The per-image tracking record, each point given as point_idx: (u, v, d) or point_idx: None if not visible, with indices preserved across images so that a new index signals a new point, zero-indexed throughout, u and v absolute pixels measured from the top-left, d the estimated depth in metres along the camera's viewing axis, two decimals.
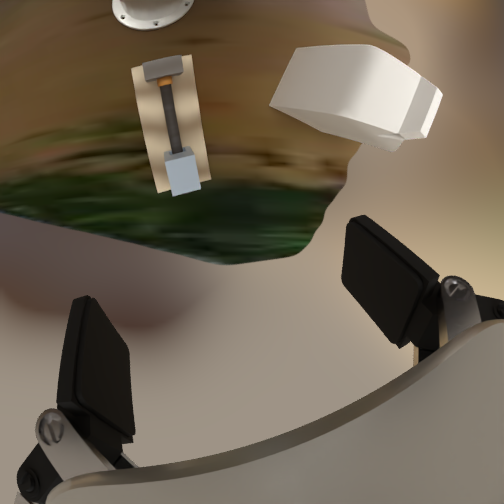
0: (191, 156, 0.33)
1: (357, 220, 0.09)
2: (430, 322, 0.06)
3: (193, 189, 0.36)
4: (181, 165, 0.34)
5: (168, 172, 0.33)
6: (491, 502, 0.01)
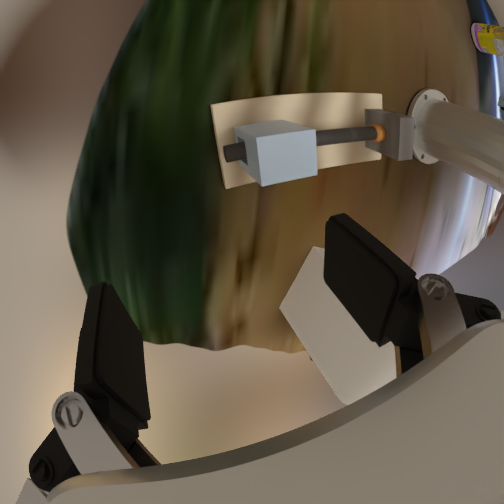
0: (315, 170, 0.22)
1: (336, 218, 0.09)
2: (407, 321, 0.07)
3: (262, 173, 0.20)
4: (305, 154, 0.21)
5: (298, 133, 0.19)
6: (491, 502, 0.01)
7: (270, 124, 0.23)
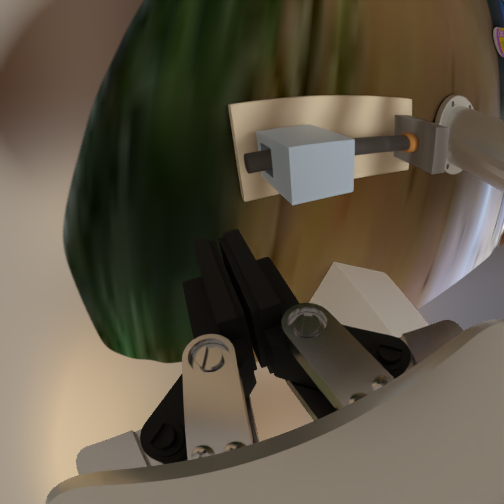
0: (351, 186, 0.18)
1: (225, 235, 0.09)
2: (275, 354, 0.07)
3: (294, 190, 0.17)
4: (342, 168, 0.17)
5: (336, 143, 0.16)
6: (491, 502, 0.01)
7: (298, 130, 0.20)
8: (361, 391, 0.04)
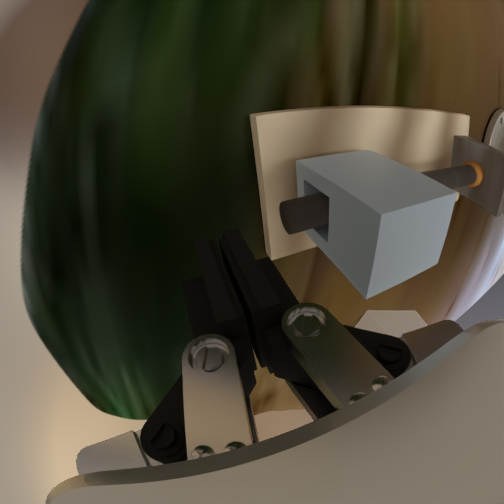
0: (438, 257, 0.11)
1: (225, 235, 0.09)
2: (275, 354, 0.07)
3: (373, 279, 0.10)
4: (435, 236, 0.10)
5: (438, 201, 0.09)
6: (491, 502, 0.01)
7: (363, 162, 0.12)
8: (361, 391, 0.04)
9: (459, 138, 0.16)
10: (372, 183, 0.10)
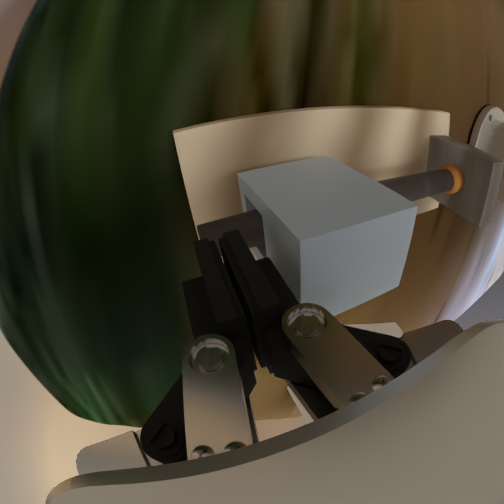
0: (398, 280, 0.11)
1: (225, 235, 0.09)
2: (275, 354, 0.07)
3: None
4: (390, 258, 0.09)
5: (389, 218, 0.08)
6: (491, 502, 0.01)
7: (311, 172, 0.12)
8: (361, 391, 0.04)
9: (436, 138, 0.15)
10: (309, 199, 0.10)
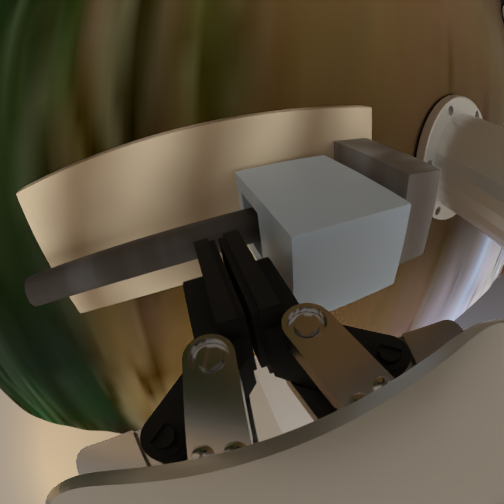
0: (392, 277, 0.11)
1: (225, 236, 0.09)
2: (275, 354, 0.07)
3: None
4: (384, 255, 0.10)
5: (382, 216, 0.08)
6: (491, 502, 0.01)
7: (307, 171, 0.12)
8: (361, 391, 0.04)
9: (339, 145, 0.14)
10: (303, 196, 0.10)
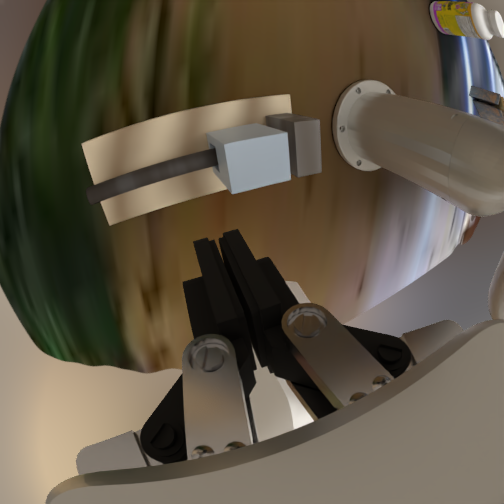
0: (288, 175, 0.21)
1: (225, 235, 0.09)
2: (275, 354, 0.07)
3: (232, 181, 0.20)
4: (277, 159, 0.20)
5: (269, 137, 0.19)
6: (491, 502, 0.01)
7: (242, 128, 0.22)
8: (361, 391, 0.04)
9: (268, 117, 0.24)
10: (235, 135, 0.20)
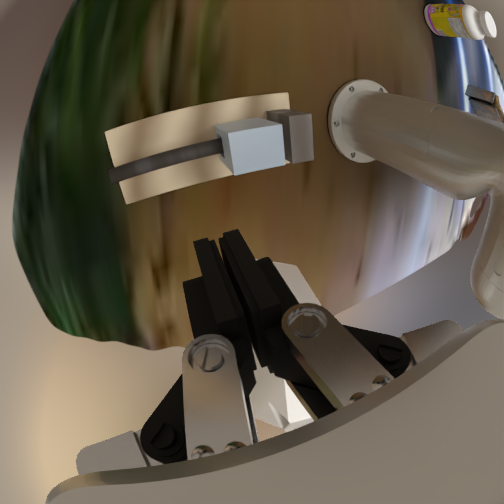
0: (283, 160, 0.24)
1: (225, 235, 0.09)
2: (275, 354, 0.07)
3: (235, 164, 0.23)
4: (273, 147, 0.23)
5: (266, 128, 0.22)
6: (491, 502, 0.01)
7: (245, 121, 0.26)
8: (361, 391, 0.04)
9: (268, 112, 0.28)
10: (237, 127, 0.24)
